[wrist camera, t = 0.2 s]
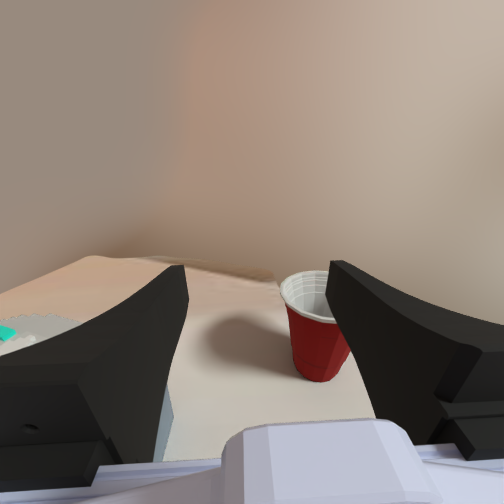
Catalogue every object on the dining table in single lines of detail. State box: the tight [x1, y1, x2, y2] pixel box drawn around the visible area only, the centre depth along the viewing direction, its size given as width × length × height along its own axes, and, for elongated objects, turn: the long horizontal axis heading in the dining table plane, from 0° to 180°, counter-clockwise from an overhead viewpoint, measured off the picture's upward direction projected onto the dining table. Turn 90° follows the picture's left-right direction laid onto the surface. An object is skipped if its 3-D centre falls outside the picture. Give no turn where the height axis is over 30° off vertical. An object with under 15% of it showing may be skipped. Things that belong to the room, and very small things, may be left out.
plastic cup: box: [280, 271, 351, 382], centre depth 30 cm, size 11×11×12 cm
